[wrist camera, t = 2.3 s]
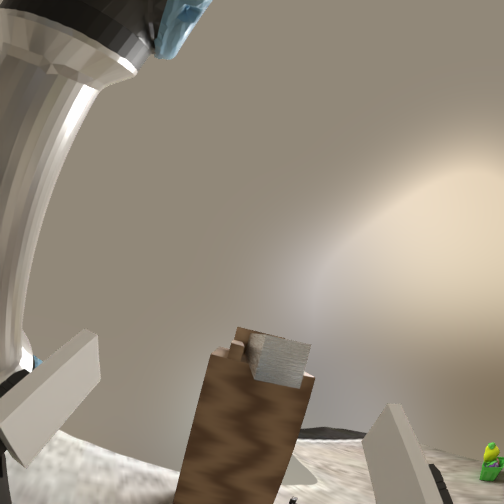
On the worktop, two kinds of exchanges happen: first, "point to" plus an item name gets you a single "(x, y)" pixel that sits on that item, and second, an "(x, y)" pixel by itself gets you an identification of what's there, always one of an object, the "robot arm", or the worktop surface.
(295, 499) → the valve
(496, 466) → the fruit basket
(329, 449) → the worktop surface
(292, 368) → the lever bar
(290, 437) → the column
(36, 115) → the robot arm
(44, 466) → the worktop surface
